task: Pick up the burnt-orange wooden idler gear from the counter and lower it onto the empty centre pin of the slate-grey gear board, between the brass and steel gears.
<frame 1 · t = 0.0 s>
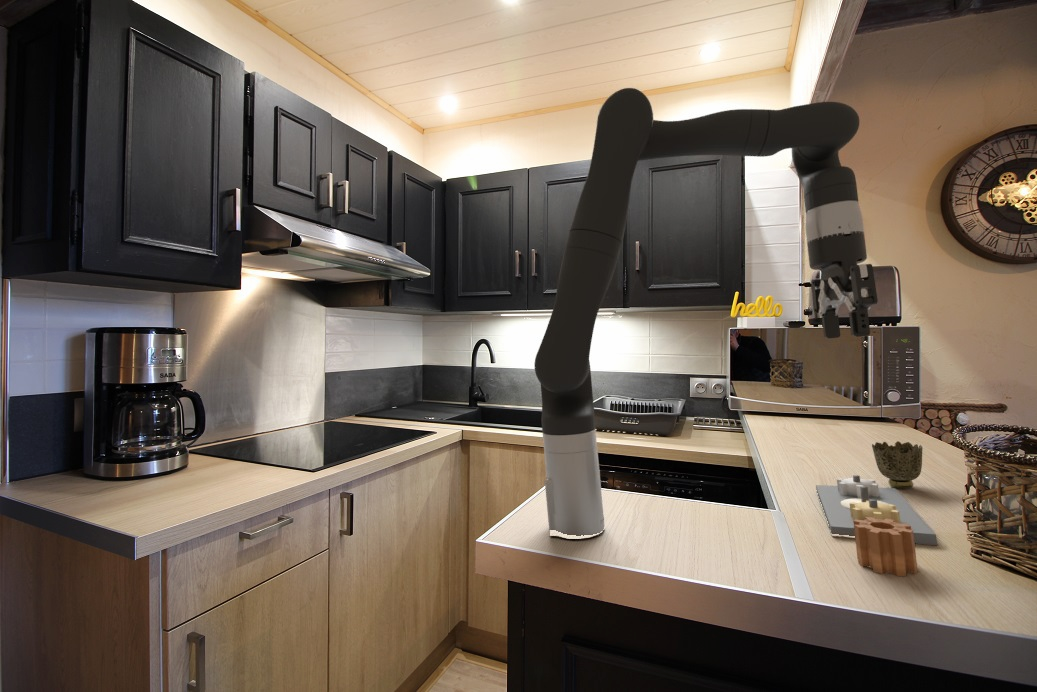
hand: (845, 337, 73), 29 cm above the worktop, fingers open, 8 cm apart
gear board: (866, 514, 75), on the worktop
idler gear: (886, 564, 59), on the worktop
cup: (901, 488, 87), on the worktop
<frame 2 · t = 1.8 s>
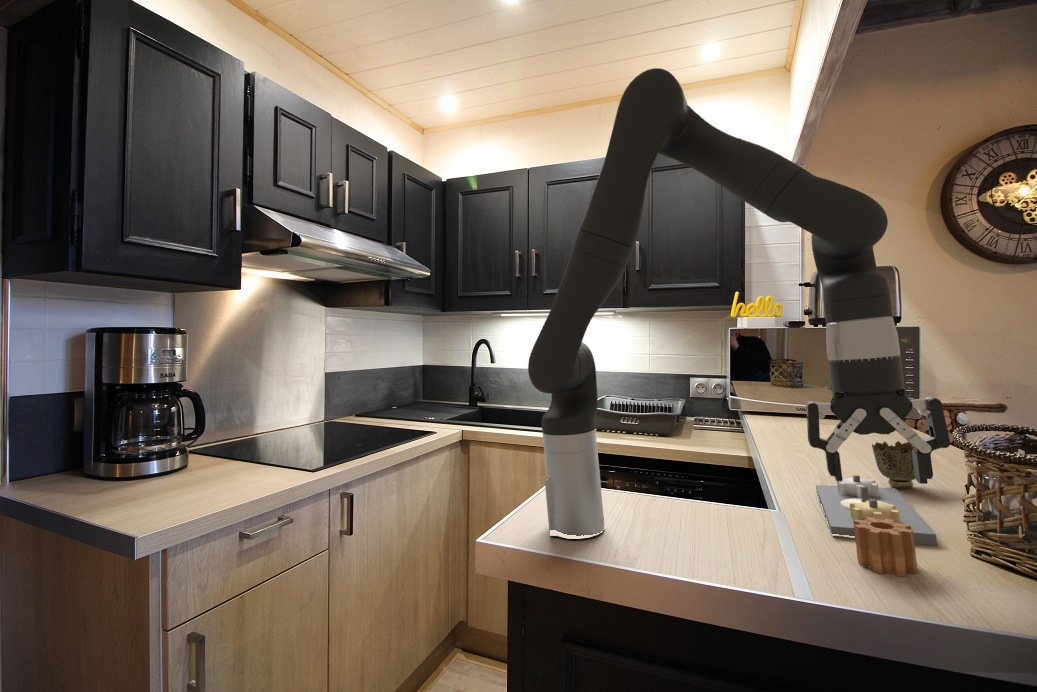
hand: (878, 480, 59), 11 cm above the worktop, fingers open, 8 cm apart
nothing on the worktop moved.
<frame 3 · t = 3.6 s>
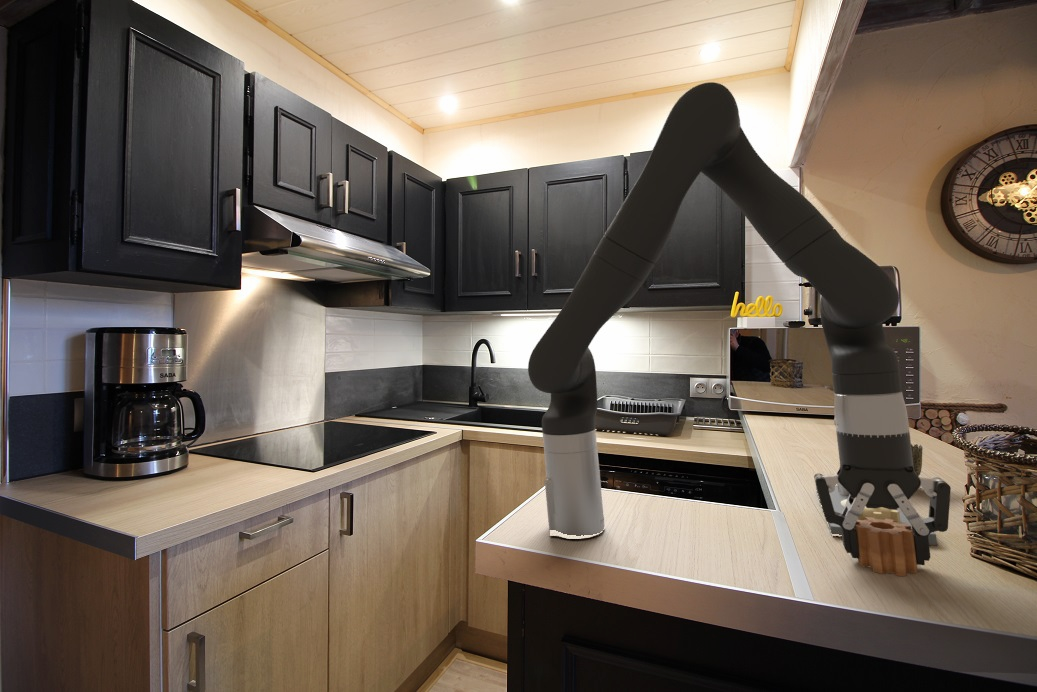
hand: (886, 558, 59), 1 cm above the worktop, fingers closed on idler gear, 6 cm apart
idler gear: (886, 564, 59), on the worktop, touching gripper
everything else where it was.
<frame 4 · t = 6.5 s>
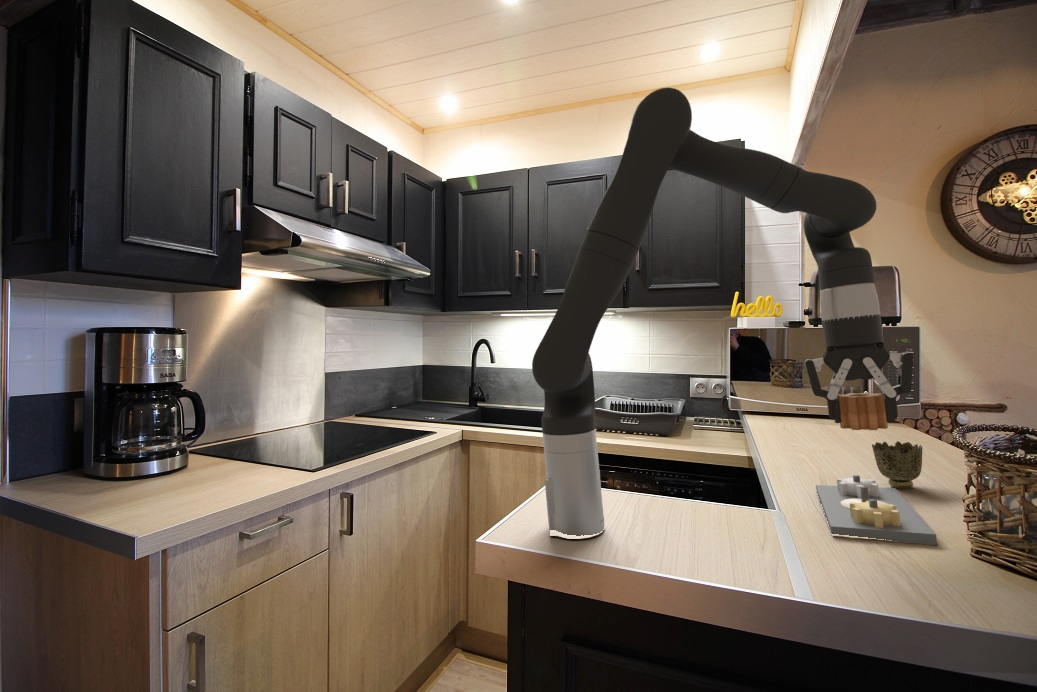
hand: (862, 421, 72), 16 cm above the worktop, fingers closed on idler gear, 6 cm apart
idler gear: (863, 427, 72), point 15 cm above the worktop, touching gripper
everything else where it was.
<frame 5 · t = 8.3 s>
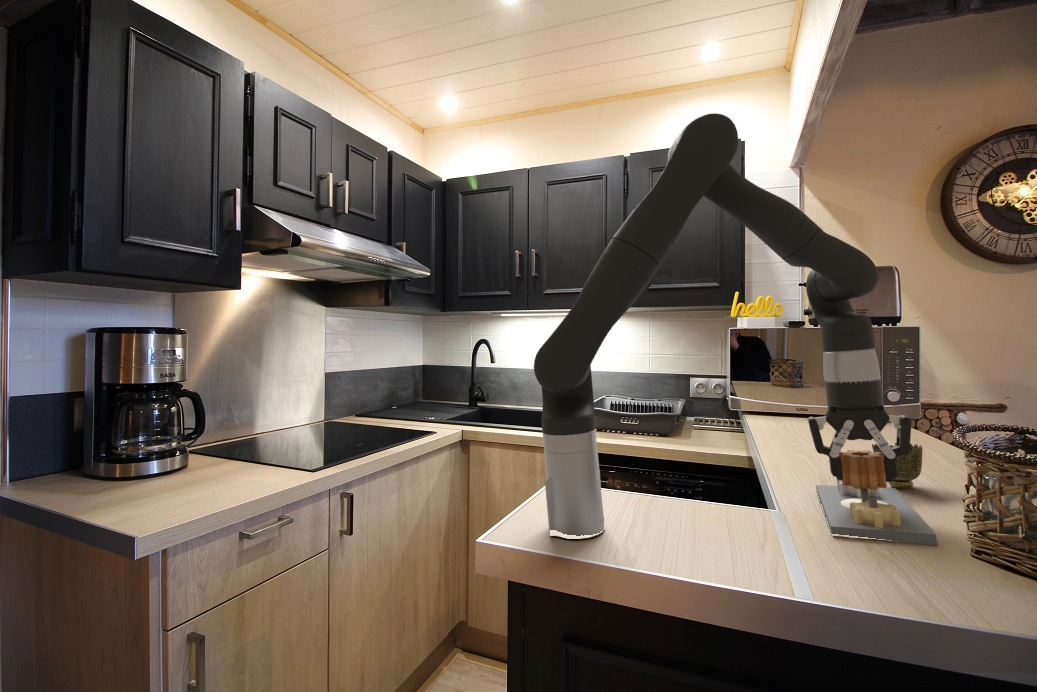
hand: (863, 479, 75), 6 cm above the worktop, fingers closed on idler gear, 6 cm apart
idler gear: (863, 484, 75), point 5 cm above the worktop, touching gripper
everything else where it was.
when the fingers open (3 cm above the worktop, at t = 9.7 s): idler gear stays where it is, resting on gear board.
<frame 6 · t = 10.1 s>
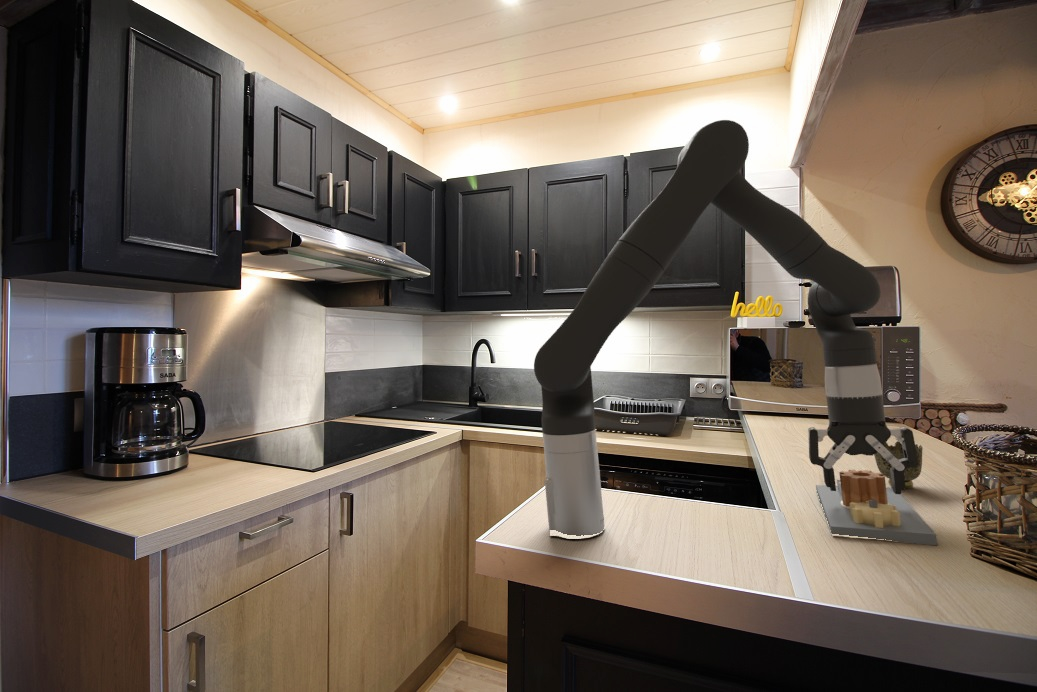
hand: (864, 491, 75), 4 cm above the worktop, fingers open, 8 cm apart
idler gear: (864, 504, 75), point 2 cm above the worktop, touching gear board
everything else where it was.
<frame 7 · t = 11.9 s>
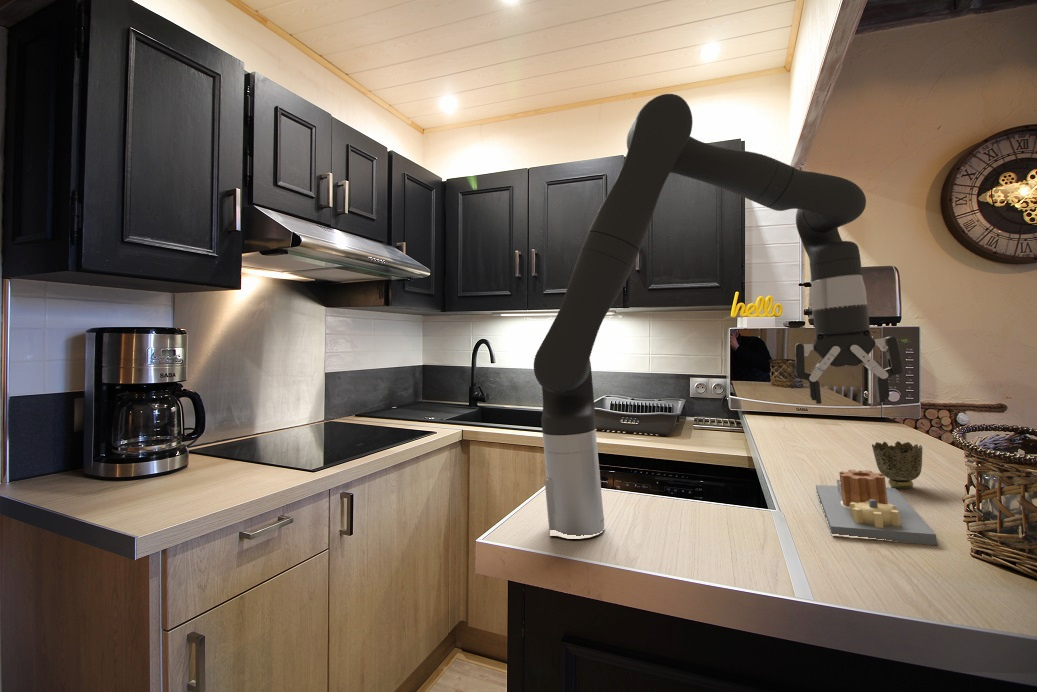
hand: (849, 402, 76), 18 cm above the worktop, fingers open, 8 cm apart
nothing on the worktop moved.
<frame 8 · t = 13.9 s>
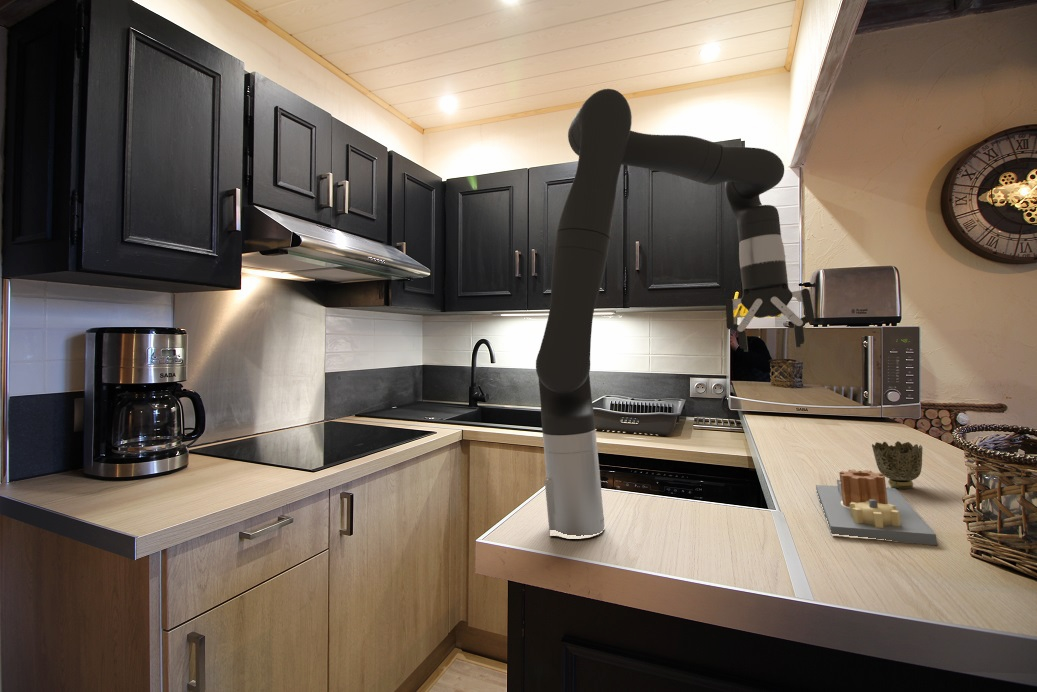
hand: (771, 349, 85), 28 cm above the worktop, fingers open, 8 cm apart
nothing on the worktop moved.
at the end: idler gear 0.1 cm off-centre on the gear board, point 1.6 cm above the gear board's base; idler gear tilted 0°; the gripper is holding nothing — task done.
